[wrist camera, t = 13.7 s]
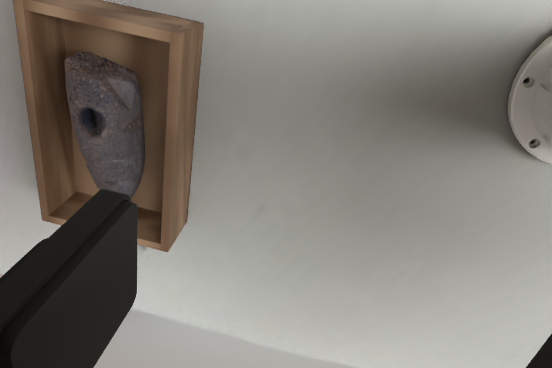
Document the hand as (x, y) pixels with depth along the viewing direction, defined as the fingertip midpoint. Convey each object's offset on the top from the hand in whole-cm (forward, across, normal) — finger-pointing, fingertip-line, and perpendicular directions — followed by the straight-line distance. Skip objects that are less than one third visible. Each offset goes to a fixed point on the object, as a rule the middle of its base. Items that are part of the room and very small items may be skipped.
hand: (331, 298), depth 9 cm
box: (+30, +20, +12) cm, 38 cm away
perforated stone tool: (+30, +19, +12) cm, 38 cm away
